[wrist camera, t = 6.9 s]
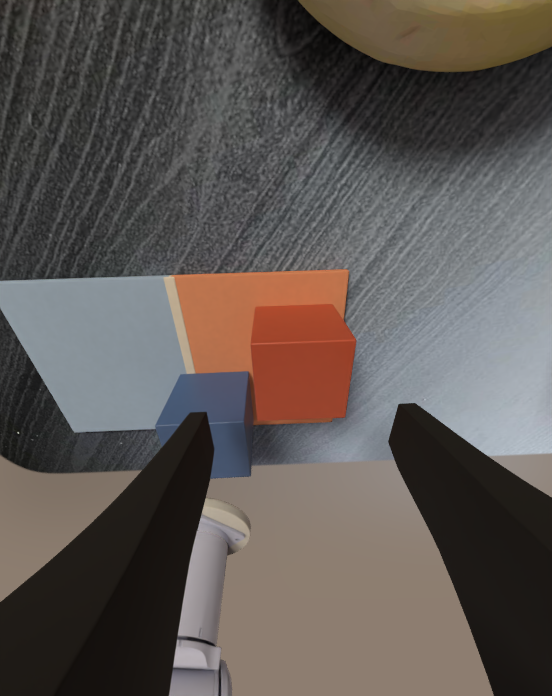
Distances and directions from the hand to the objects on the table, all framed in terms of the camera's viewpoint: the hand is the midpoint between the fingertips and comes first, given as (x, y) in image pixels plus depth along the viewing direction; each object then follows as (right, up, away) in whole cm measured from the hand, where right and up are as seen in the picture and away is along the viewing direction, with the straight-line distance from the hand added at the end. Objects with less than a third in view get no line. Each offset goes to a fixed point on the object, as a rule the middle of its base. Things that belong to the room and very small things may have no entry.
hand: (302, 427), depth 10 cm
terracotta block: (0, +4, +6) cm, 7 cm away
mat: (-6, +2, +7) cm, 10 cm away
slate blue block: (-5, 0, +8) cm, 9 cm away
